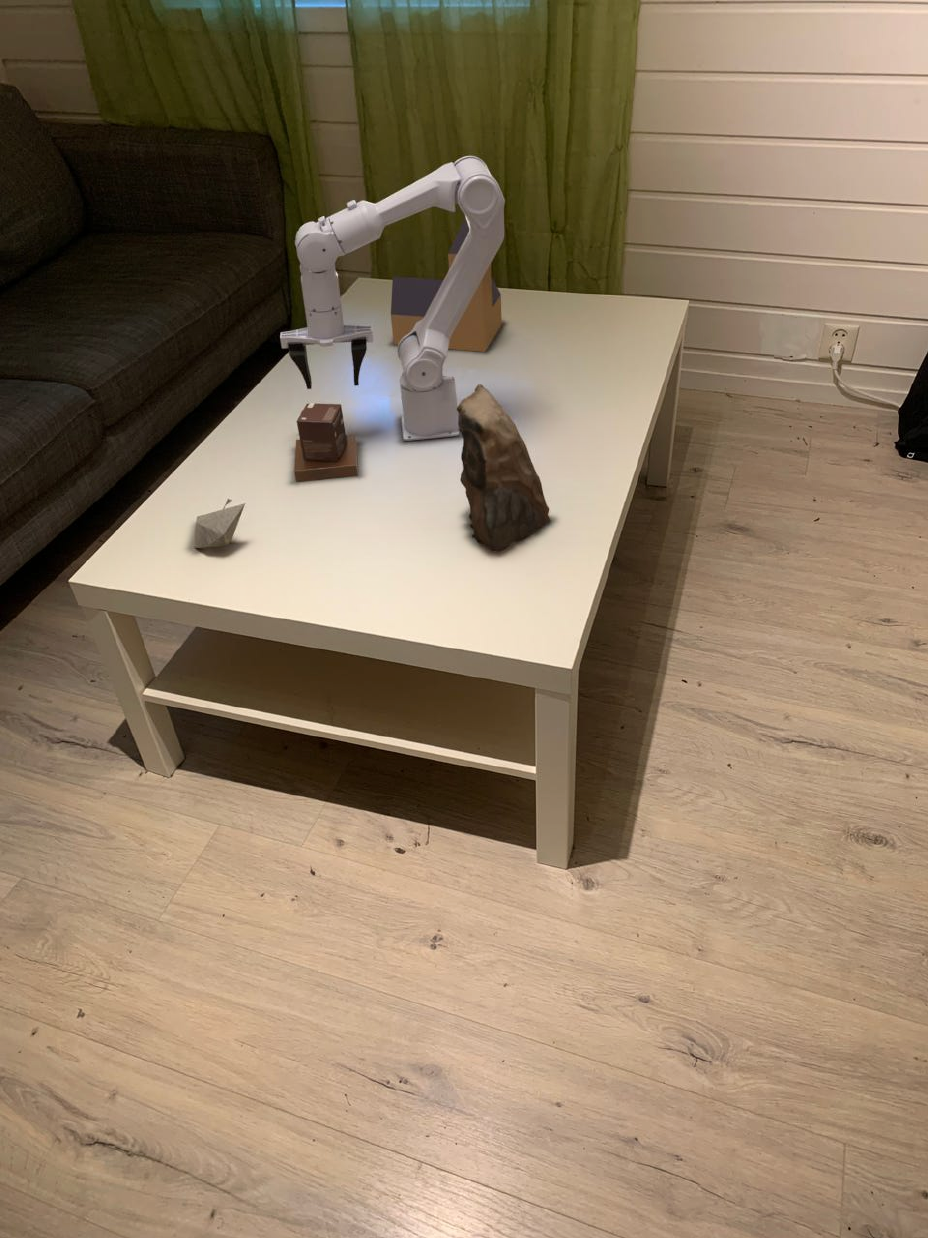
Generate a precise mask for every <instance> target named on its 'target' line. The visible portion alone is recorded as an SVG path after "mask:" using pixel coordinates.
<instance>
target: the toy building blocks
mask: <svg viewBox="0 0 928 1238" xmlns="http://www.w3.org/2000/svg"><path fill="white" fill-rule="evenodd" d="M468 233H469V226H468V223H467V220H466V217H465V218H464V219H463V222H462V224H461V226H460V228H459V230H458V232H457V234H456V236H455V238H454V241H453V242H452V245H451V246H450V249H449V252H448V253H447V257H448V270H449V269H450V267H451V265H452V263H453V262H454V260H455V258H456V256H457V254H458V252H459V250H460V248H461V246H462V244H463V242H464V241H465V239H466V237H467V235H468ZM443 281H444V279H437V278H422V277H421V278H420V277H406V276H392V283H391V302H390V322H391V329H392V340H393V346H398V345H399V343H400V341H401V340H402V338H403V337H405V336H406V335H407V334H409V333H410V332H411V331H412V330H413V328H414V326H415V324H416V323H417V322H419V321H421V320H422V319H424V317H425V315H426V313H427V311H428V309H429V307H430V305H431V303H432V302H433V300H434V298H435V296H436V294H437V292H438V290H439V288H440V286H441V284H442V282H443ZM502 324H503V321H502V293H500V290H499V288H498V286H497V285H496V283H495V281H494V279H493V276H492V263H491V264H490V266H489V267H488V269H487V271H486V273H485V275H484V277H483V278H482V280H481V282H480V284H479V286H478V288H477V289H476V291H475V293H474V295H473V297H472V299H471V300H470V302H469V304H468V306H467V308H466V310H465V311H464V313H463V315H462V317H461V319H460V321H459V322H458V324H457V326H456V328H455V330H454V332H453V333H452V335H451V337H450V341H449V347H448V350H457V351H468V352H479V353H486V352H487V350H488V348H489V347H490V345H491V343H492V342H493V340H494V338H495V337H496V335H497V333H498V332H499V330H500V329H501V326H502Z"/></svg>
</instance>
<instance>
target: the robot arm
mask: <svg viewBox="0 0 928 1238" xmlns="http://www.w3.org/2000/svg"><path fill="white" fill-rule="evenodd" d="M505 203H506V200H505V197H504V194H503V192H502V190H501V188H500V185H499V183H498V181H497V180H496V179H495V177H494V176H493V175H492V174H491V171H490V169H489V167H488V164H487V163H485V162H484V160H483V159H482V158H480V157H478V156H475V155H466V156H463V157H460V158H459V159H457V160H456V161H455V162H452V161H451V162H448V163H445V164H443V165H441V166H440V167H438V168H437V169H436V170H434V171H433V172H431V173H429V174H428V175H425V176H424V177H422V178H420V179H418V180H416V181H415V182H413V183H411V184H409V185H407V186H405V187H403V188H402V189H400V190H397V191H396V192H394V193H393V194H390V195H389V196H388V197H386V198H383V199H382V200H380V201H378V202H376V203H373V202H369V201H366V200H360V201H359V202H356V200H355V199H352V200H351V201H348V202H346V206H347V207H346V208H344V209H342V210H340V211H337V212H335V213H333V214H331V215H330V216H327V217H325V216H324V215H322V216H321V217H318V219H317V221H316V222H315V221H308V222H306V223H303V225H301V226H300V227H299V228H298V230H297V231H296V234H295V239H294V245H295V249H296V256H297V259H298V261H299V272H300V274H301V275H300V284H301V292H302V298H303V305H304V313H305V320H306V327H302V328H299V329H292V330H287V331H281V332H280V335H279V339H280V346H281V349H284V350H285V349H288V355H289V357H290V359H291V360H292V361H293V363H294V364H295V366H296V367H297V369H298V371H299V372H300V374H301V376H302V378H303V380H304V383H305V385H306V389H307V390H312V387H313V385H312V384H313V381H312V375H311V371H310V365H309V361H308V351H307V346H311V345H312V346H313V345H314V346H315V345H319V347H332V346H333V345H334V344H340V343H350V353H351V359H352V367H353V369H352V370H353V386H354V387H355V386H359V383H360V382H359V379H360V373H361V372H360V371H361V367H362V364H363V361H364V358H365V356H366V353H367V350H368V346H367V344H368V343H374V333H373V326H372V325H356V324H355V325H354V324H344V315H343V307H342V298H341V289H340V280H339V274H338V271H336V262H337V259H338V258H339V257H343V256H345V255H347V254H349V253H351V252H354V251H356V250H358V249H359V248H362V247H364V246H366V245H368V244H370V243H373V242H374V241H376V240H379V239H380V238H381V236H382V233H383V230H384V228H385V227H386V226H389V225H392V224H394V223H396V222H398V221H401V220H403V219H405V218H409V217H411V216H413V215H415V214H417V213H420V212H422V211H425V210H427V209H430V208H432V207H437V208H440V209H442V210H446V211H448V212H452V213H455V212H456V205H458V206H459V209H460V210H461V211H462V212H463V214H464V216H465V218H466V220H467V223H468V226H469V233H468V235H467V237H466V239H465V241H464V242H463V244H462V246H461V248H460V250H459V252H458V254H457V256H456V258H455V260H454V262H453V263H452V265H451V267H450V269H449V268H448V271H447V273H446V275H445V277H444V279H443V280H444V281H443V282H442V284H441V286H440V288H439V290H438V292H437V294H436V296H435V298H434V300H433V302H432V303H431V305H430V307H429V309H428V311H427V313H426V315H425V317H424V319H422V320H421V321H419V322H417V323H416V324H415V326H414V328H413V330H412V331H411V332H410V333H409V334H407V335H406V336H405V337H403V338H402V340H401V341H400V343H399V345H397V356H398V358H399V361H400V364H401V367H402V374H401V376H400V378H399V386H400V395H401V404H402V413H403V414H402V416H401V426H402V428H401V429H402V435H403V437H402V438H403V441H405V442H410V441H419V440H420V441H421V440H430V439H441V438H450V437H451V438H452V437H458V436H460V431H459V429H460V426H459V419H460V413H459V412H458V411H457V407H458V397H457V387H456V379H455V377H454V376H445V375H443V369H444V368H443V367H444V363H445V361H446V359H447V357H448V352H449V349H448V347H449V341H450V337H451V335H452V333H453V332H454V330H455V328H456V326H457V324H458V322H459V321H460V319H461V317H462V315H463V313H464V311H465V310H466V308H467V306H468V304H469V302H470V300H471V299H472V297H473V295H474V293H475V291H476V289H477V288H478V286H479V284H480V282H481V280H482V278H483V277H484V275H485V273H486V271H487V269H488V267H489V266H490V264H491V265H492V262H493V261H494V259H495V256H496V255H497V253H498V251H499V249H500V247H501V246H502V243H503V242H504V238H505V209H504V208H505Z"/></svg>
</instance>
